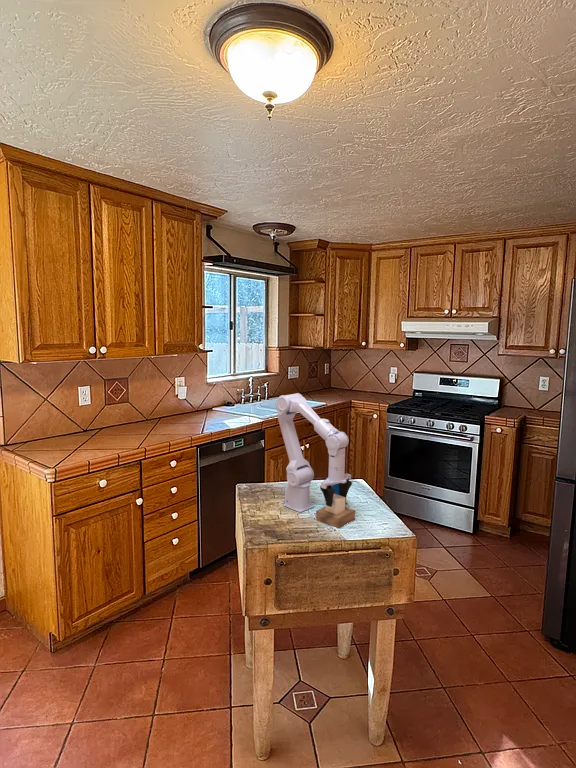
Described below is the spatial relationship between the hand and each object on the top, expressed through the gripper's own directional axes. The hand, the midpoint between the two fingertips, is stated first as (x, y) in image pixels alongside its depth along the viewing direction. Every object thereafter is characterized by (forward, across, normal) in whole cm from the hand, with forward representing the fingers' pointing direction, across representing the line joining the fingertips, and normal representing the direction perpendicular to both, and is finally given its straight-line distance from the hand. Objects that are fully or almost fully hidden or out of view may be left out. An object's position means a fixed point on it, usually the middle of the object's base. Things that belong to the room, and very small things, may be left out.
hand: (335, 502), depth 163 cm
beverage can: (+7, +11, +8) cm, 15 cm away
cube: (+3, 0, 0) cm, 3 cm away
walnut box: (+7, 0, 0) cm, 7 cm away
